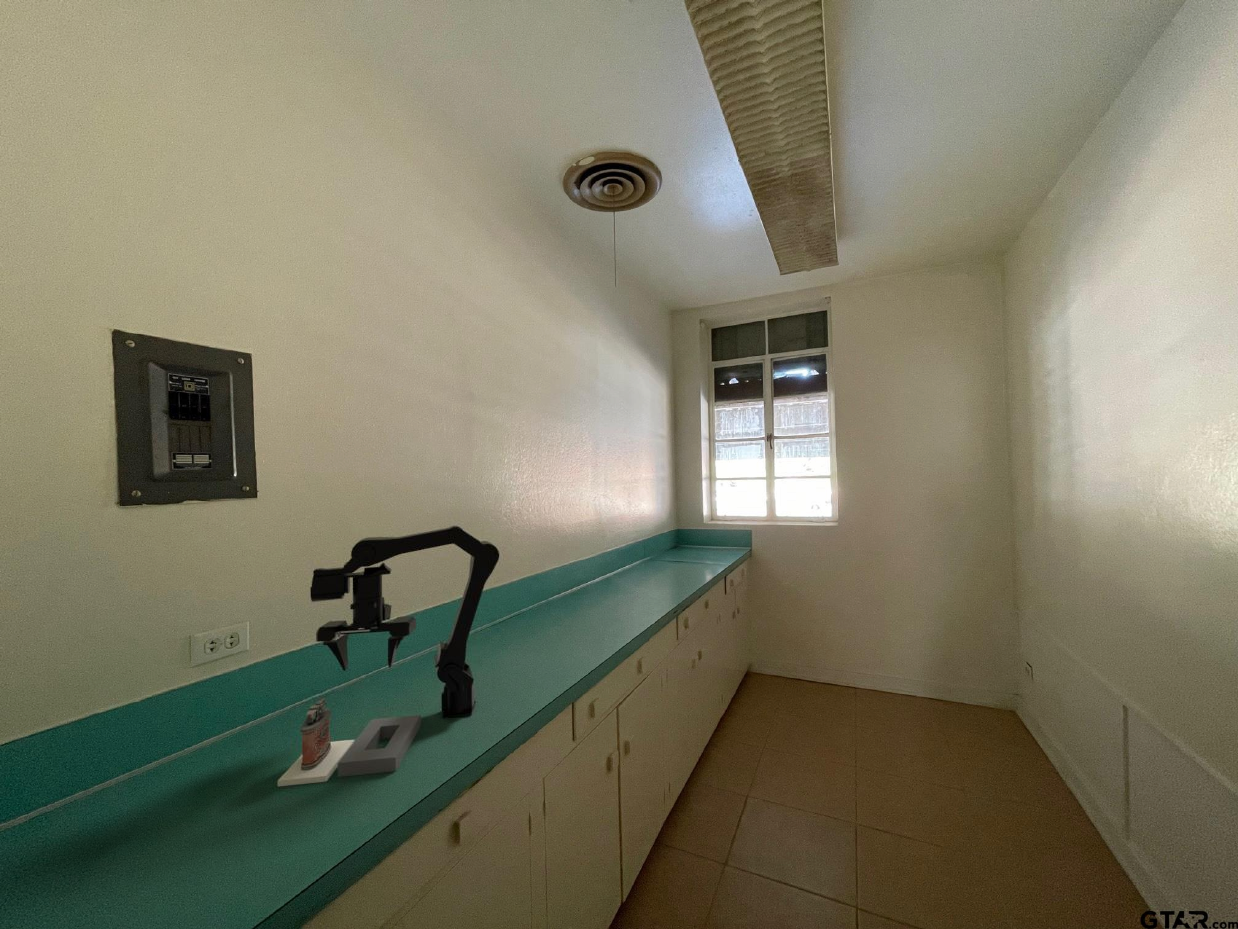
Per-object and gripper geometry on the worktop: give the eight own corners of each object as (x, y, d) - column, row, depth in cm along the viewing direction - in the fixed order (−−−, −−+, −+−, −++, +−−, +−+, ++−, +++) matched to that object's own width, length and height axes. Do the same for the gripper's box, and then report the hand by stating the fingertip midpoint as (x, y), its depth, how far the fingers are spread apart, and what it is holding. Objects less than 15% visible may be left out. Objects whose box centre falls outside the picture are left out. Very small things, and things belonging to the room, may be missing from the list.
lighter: (316, 769, 87) (316, 714, 87) (296, 772, 86) (295, 716, 86) (335, 745, 94) (334, 694, 95) (316, 747, 94) (316, 696, 94)
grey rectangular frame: (420, 726, 103) (420, 715, 103) (395, 771, 87) (395, 757, 87) (371, 731, 102) (371, 719, 102) (337, 777, 86) (337, 763, 86)
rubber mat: (354, 744, 96) (354, 739, 96) (326, 781, 85) (326, 775, 85) (312, 748, 95) (312, 743, 95) (277, 786, 83) (277, 780, 84)
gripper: (422, 585, 113) (423, 652, 112) (338, 590, 110) (339, 658, 110) (407, 597, 102) (408, 670, 101) (314, 602, 99) (314, 677, 99)
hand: (368, 668), depth 103 cm, fingers open, 9 cm apart
